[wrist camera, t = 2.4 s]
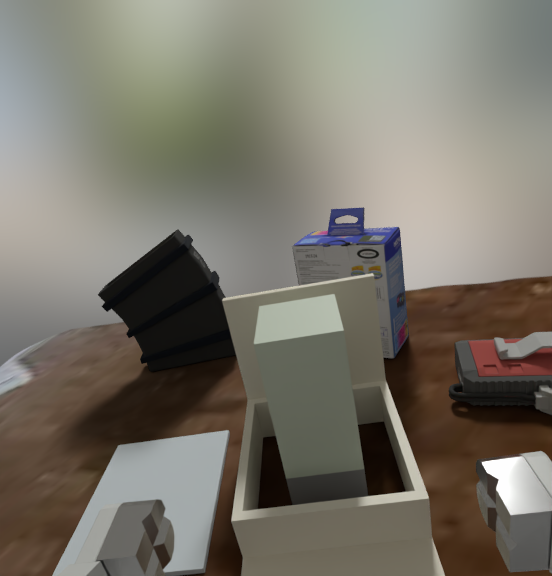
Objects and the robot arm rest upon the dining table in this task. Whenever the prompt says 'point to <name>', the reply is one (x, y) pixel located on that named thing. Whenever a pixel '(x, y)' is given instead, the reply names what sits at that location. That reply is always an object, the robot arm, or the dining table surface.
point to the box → (311, 398)
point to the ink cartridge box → (360, 268)
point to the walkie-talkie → (505, 371)
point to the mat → (164, 493)
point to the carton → (338, 513)
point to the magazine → (172, 306)
